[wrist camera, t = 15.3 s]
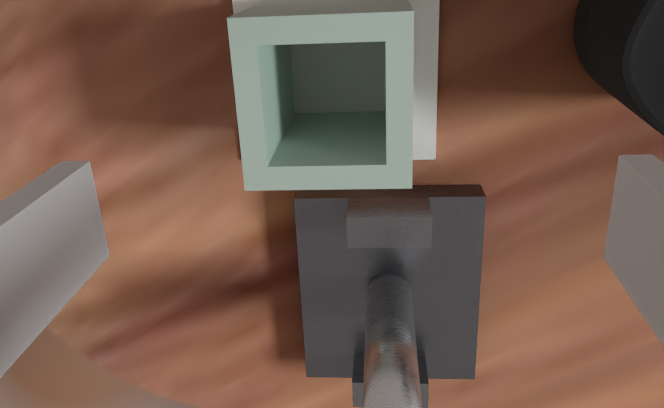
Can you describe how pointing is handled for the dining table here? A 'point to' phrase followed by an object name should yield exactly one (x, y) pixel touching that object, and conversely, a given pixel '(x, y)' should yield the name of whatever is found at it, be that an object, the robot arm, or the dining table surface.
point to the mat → (368, 75)
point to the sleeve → (330, 127)
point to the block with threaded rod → (390, 287)
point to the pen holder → (625, 52)
